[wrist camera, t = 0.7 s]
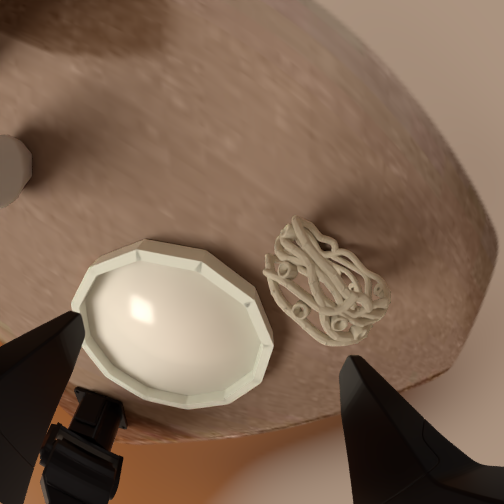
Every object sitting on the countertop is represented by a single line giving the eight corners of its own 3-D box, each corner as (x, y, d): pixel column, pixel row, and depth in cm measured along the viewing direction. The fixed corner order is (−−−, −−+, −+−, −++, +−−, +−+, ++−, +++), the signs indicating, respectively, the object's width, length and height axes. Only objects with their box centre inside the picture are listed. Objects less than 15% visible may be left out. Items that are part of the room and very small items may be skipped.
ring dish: (248, 405, 29) (248, 418, 27) (95, 372, 27) (89, 383, 26) (292, 265, 21) (295, 277, 20) (74, 225, 20) (62, 234, 19)
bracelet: (342, 294, 23) (372, 368, 15) (255, 245, 21) (254, 315, 14) (374, 254, 21) (420, 319, 14) (286, 197, 19) (304, 248, 12)
